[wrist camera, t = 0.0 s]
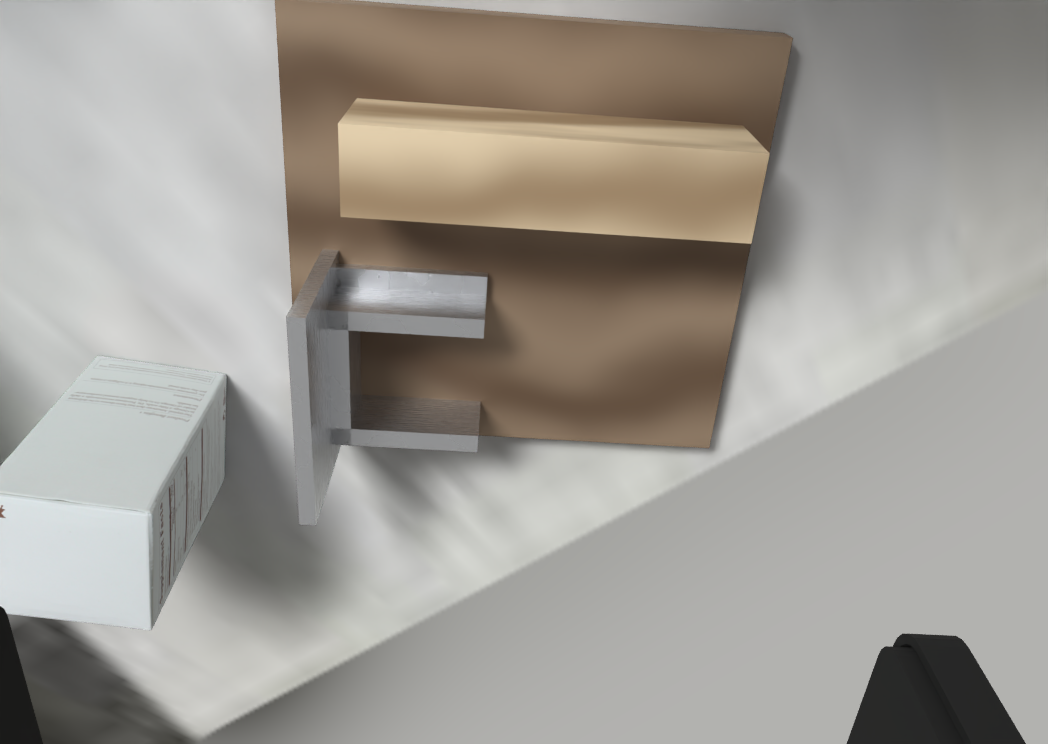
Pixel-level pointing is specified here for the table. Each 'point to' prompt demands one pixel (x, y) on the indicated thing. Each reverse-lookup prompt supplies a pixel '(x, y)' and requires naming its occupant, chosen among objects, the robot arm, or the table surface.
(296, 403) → the bracket
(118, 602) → the supplement box
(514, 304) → the board
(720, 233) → the rail
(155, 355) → the table surface
